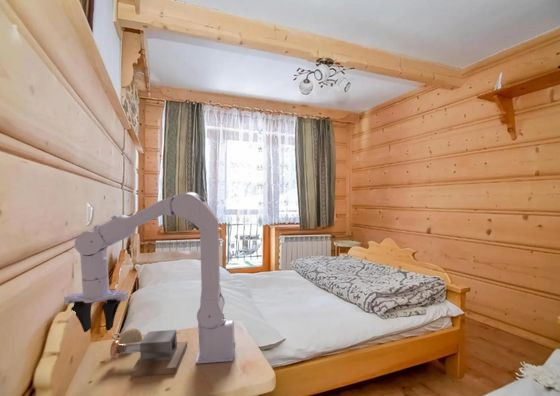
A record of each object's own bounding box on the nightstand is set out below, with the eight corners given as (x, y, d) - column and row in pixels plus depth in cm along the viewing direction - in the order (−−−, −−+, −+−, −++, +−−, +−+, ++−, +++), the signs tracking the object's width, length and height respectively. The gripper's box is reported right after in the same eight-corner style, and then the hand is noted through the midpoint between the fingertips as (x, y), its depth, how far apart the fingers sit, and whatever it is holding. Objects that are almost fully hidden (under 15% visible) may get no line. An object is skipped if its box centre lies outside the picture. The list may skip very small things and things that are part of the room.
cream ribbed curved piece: (145, 344, 86) (144, 326, 86) (113, 356, 81) (111, 336, 81) (142, 339, 90) (141, 322, 89) (110, 349, 84) (109, 331, 84)
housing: (187, 346, 85) (186, 324, 84) (176, 373, 73) (174, 347, 72) (149, 349, 84) (147, 326, 84) (131, 376, 72) (129, 350, 72)
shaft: (160, 349, 80) (159, 334, 80) (155, 357, 76) (154, 342, 76) (118, 352, 79) (117, 337, 79) (110, 360, 75) (109, 345, 75)
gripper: (54, 283, 71) (58, 339, 72) (117, 280, 73) (121, 335, 73) (72, 274, 78) (76, 325, 79) (130, 272, 80) (132, 321, 80)
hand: (98, 329), depth 77 cm, fingers open, 5 cm apart
